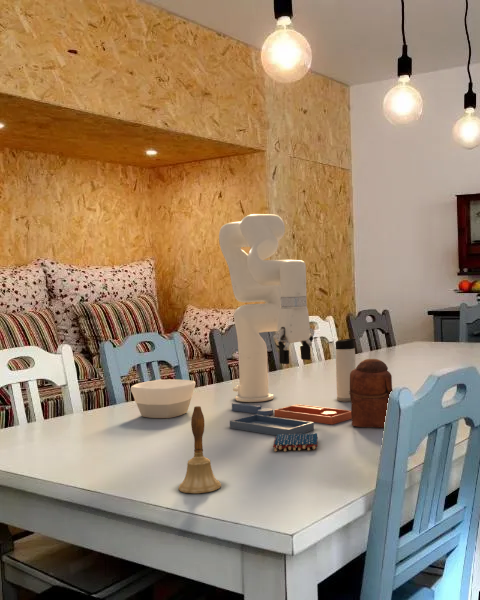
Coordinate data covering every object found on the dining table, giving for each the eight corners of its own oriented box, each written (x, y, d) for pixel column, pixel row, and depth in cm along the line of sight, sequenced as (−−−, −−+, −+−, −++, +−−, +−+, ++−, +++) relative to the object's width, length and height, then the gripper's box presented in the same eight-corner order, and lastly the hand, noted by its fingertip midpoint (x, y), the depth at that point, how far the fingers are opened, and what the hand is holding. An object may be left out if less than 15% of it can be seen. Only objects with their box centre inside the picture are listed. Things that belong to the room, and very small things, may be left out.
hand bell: (180, 482, 146) (177, 404, 145) (221, 480, 146) (218, 402, 146) (176, 495, 138) (173, 412, 137) (220, 492, 138) (217, 409, 138)
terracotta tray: (274, 416, 210) (274, 409, 210) (297, 410, 218) (296, 404, 218) (332, 424, 196) (331, 417, 196) (354, 417, 204) (354, 410, 204)
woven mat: (275, 441, 179) (274, 433, 179) (318, 440, 178) (317, 432, 178) (272, 452, 168) (271, 443, 168) (317, 450, 168) (317, 442, 168)
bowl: (205, 410, 223) (204, 380, 223) (172, 422, 207) (170, 389, 207) (158, 407, 231) (156, 378, 230) (122, 418, 215) (120, 387, 214)
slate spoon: (228, 411, 221) (228, 404, 221) (239, 408, 224) (238, 401, 224) (265, 416, 211) (265, 409, 211) (276, 413, 214) (276, 406, 214)
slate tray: (229, 428, 196) (229, 420, 196) (255, 421, 204) (255, 414, 204) (288, 437, 183) (288, 429, 183) (314, 429, 190) (313, 422, 190)
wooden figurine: (396, 423, 194) (394, 357, 194) (392, 429, 188) (390, 360, 187) (352, 422, 197) (350, 357, 197) (348, 428, 191) (346, 360, 190)
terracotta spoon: (287, 414, 210) (287, 406, 210) (298, 411, 214) (297, 404, 214) (330, 419, 200) (329, 411, 200) (340, 416, 204) (339, 409, 204)
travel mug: (356, 401, 229) (354, 338, 228) (335, 401, 230) (333, 339, 230) (358, 398, 235) (356, 337, 234) (338, 398, 237) (336, 337, 236)
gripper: (302, 300, 218) (304, 357, 219) (264, 304, 205) (265, 364, 206) (322, 301, 213) (323, 358, 214) (284, 305, 200) (285, 366, 201)
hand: (295, 361), depth 210 cm, fingers open, 9 cm apart
